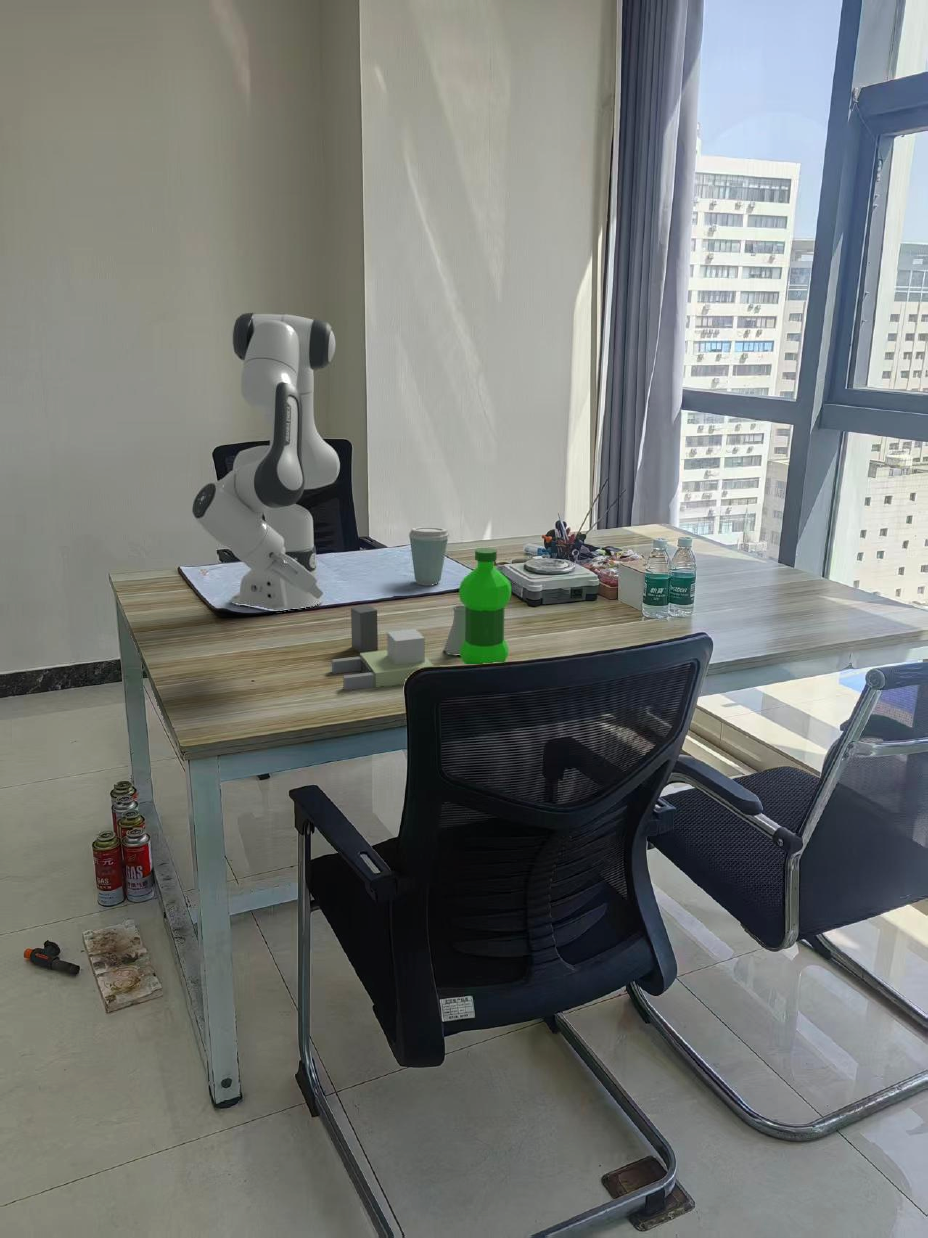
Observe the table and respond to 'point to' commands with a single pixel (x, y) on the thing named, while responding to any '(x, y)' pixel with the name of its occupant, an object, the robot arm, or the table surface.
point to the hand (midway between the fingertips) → (310, 589)
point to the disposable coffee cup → (428, 553)
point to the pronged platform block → (385, 662)
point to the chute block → (364, 628)
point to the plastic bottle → (484, 611)
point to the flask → (456, 631)
